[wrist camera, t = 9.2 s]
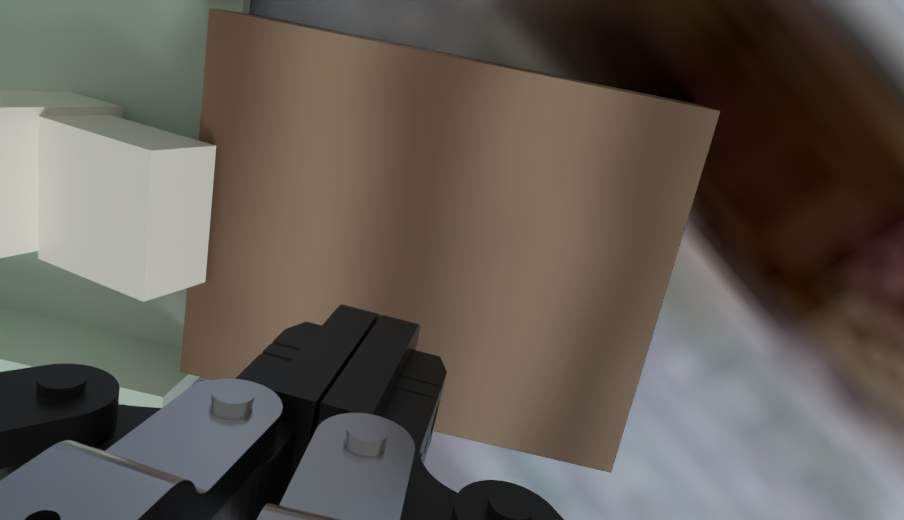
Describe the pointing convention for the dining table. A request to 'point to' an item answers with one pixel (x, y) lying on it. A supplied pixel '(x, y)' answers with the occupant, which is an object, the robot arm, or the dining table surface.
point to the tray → (144, 101)
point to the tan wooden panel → (444, 222)
